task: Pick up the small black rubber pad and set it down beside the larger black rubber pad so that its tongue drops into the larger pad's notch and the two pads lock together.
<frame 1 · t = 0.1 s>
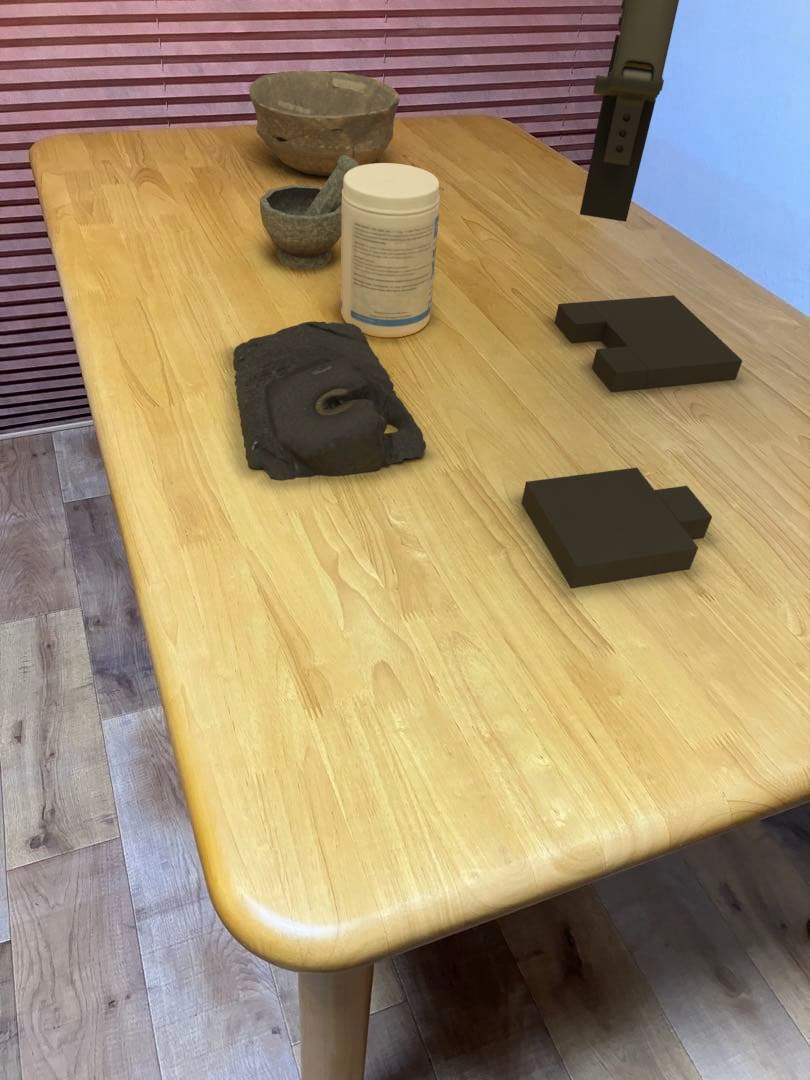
hand: (608, 177, 56), 26 cm above the table, tool pointing down, fingers open, 13 cm apart
base pad: (641, 352, 91), on the table
small pad: (602, 537, 69), on the table
bowl: (323, 167, 125), on the table
dark slate chunk: (321, 407, 80), on the table
supplement tub: (384, 320, 93), on the table
mortar and pestle: (310, 261, 102), on the table
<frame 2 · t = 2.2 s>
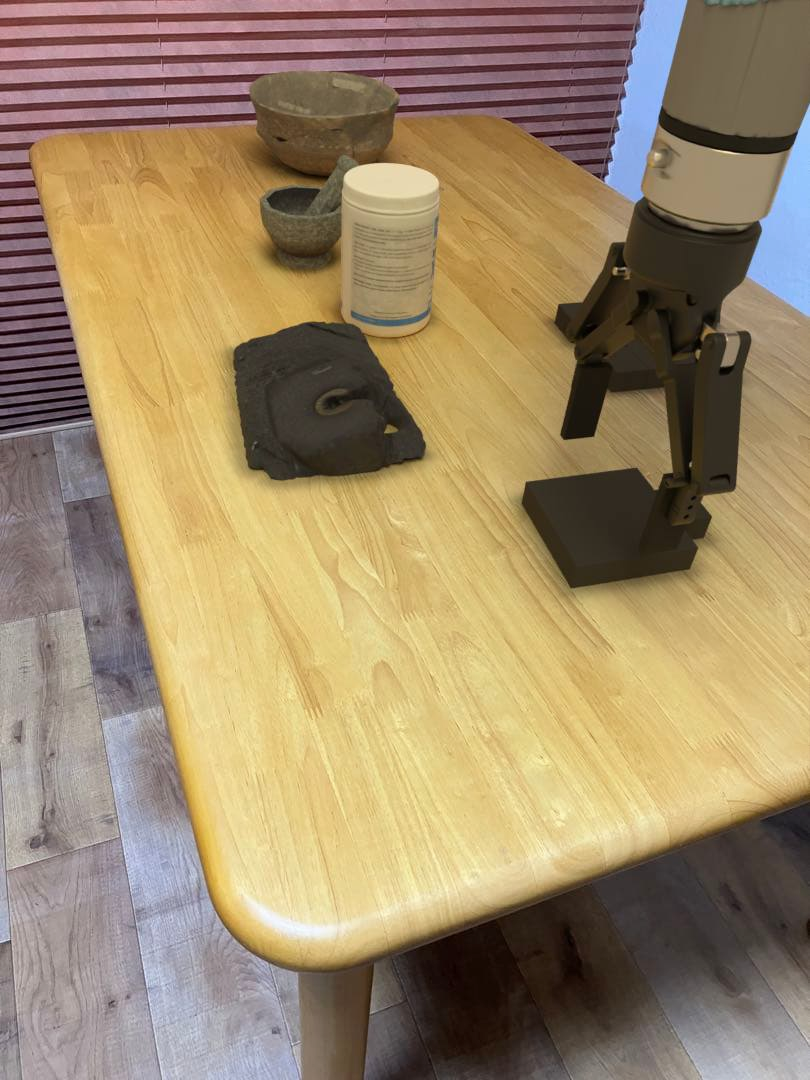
hand: (614, 488, 66), 5 cm above the table, tool pointing down, fingers open, 13 cm apart
nothing on the table moved.
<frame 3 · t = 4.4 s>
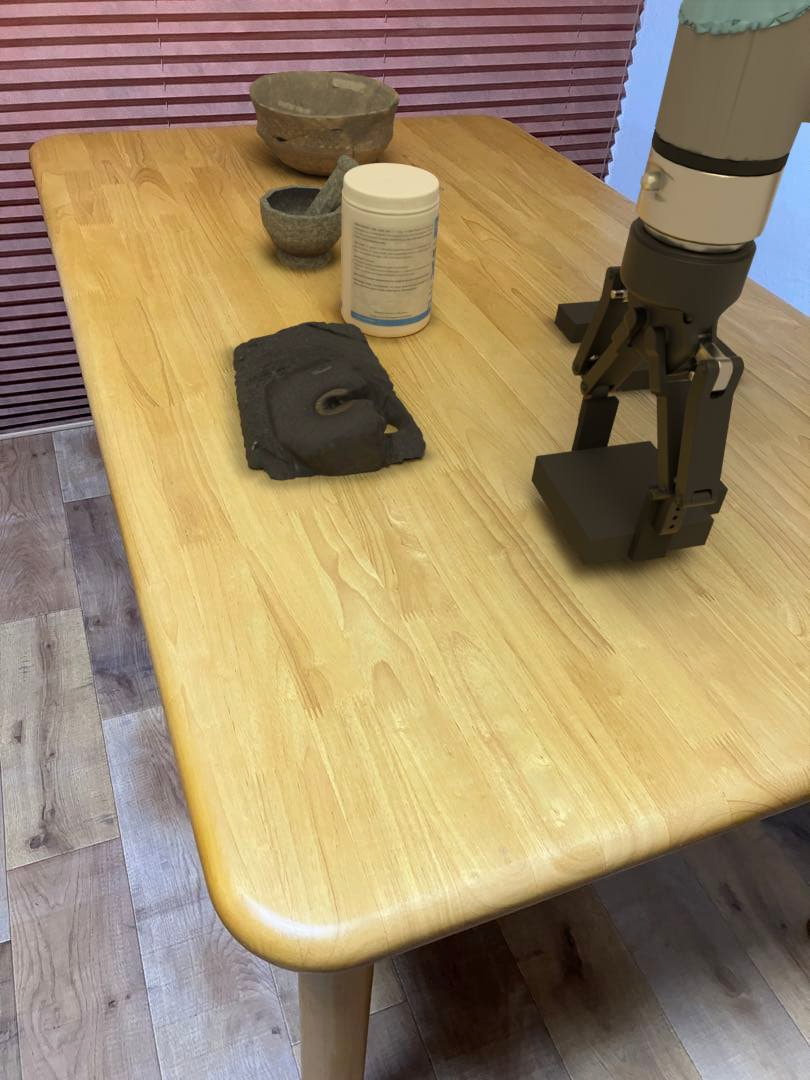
hand: (613, 509, 67), 3 cm above the table, tool pointing down, fingers closed on small pad, 10 cm apart
small pad: (615, 511, 67), point 3 cm above the table, touching gripper
everything else where it was.
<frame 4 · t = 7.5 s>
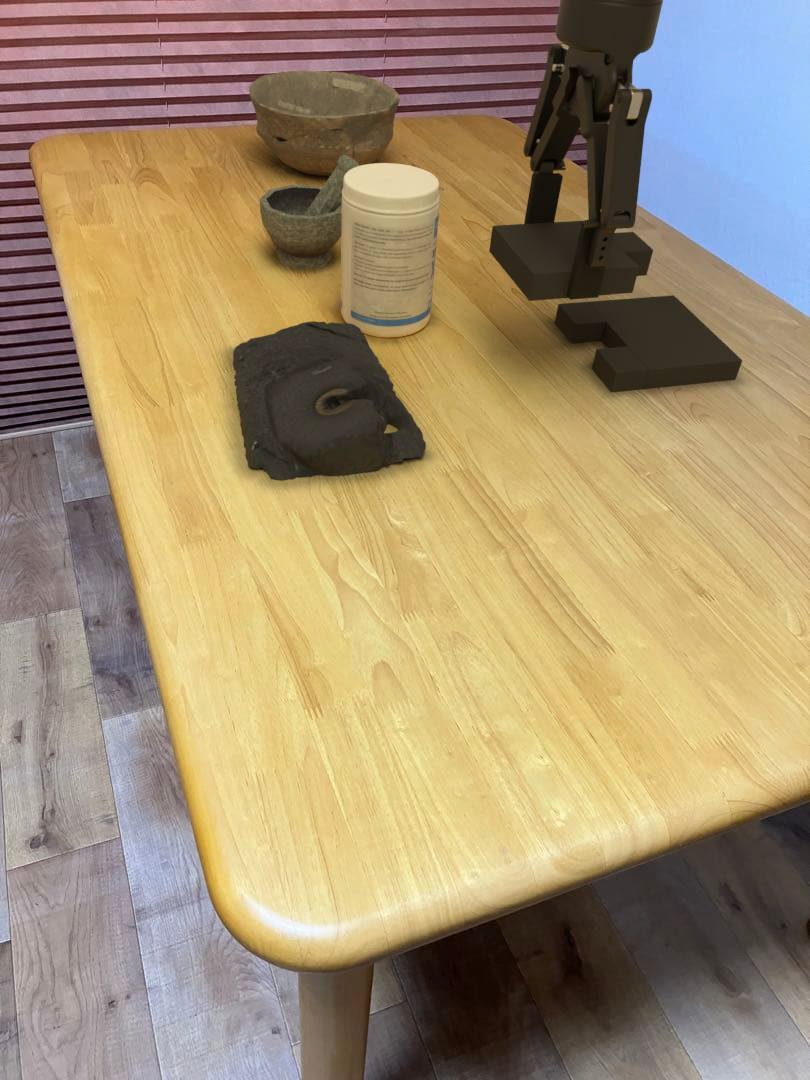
hand: (557, 269, 79), 11 cm above the table, tool pointing down, fingers closed on small pad, 10 cm apart
small pad: (558, 271, 80), point 11 cm above the table, touching gripper
everything else where it was.
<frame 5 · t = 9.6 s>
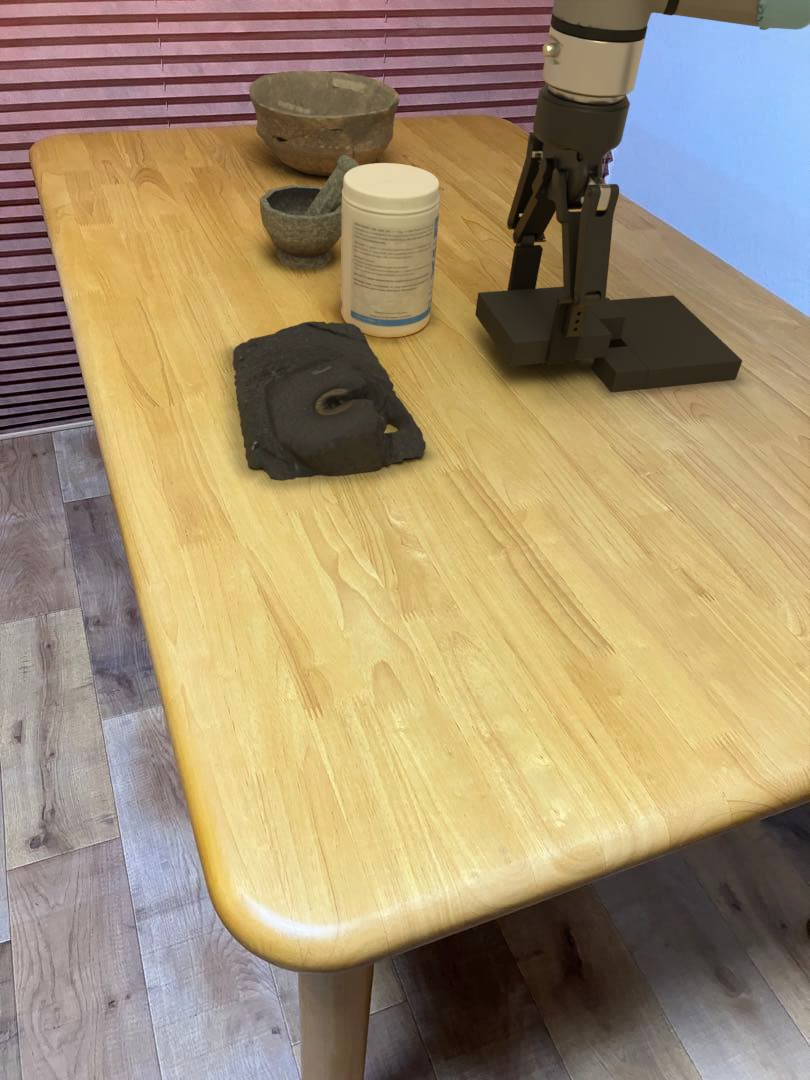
hand: (537, 333, 86), 3 cm above the table, tool pointing down, fingers closed on small pad, 10 cm apart
small pad: (538, 335, 86), point 3 cm above the table, touching gripper
everything else where it was.
when the fingers open (0 cm above the table, at t = 10.9 s): small pad stays where it is, on the table.
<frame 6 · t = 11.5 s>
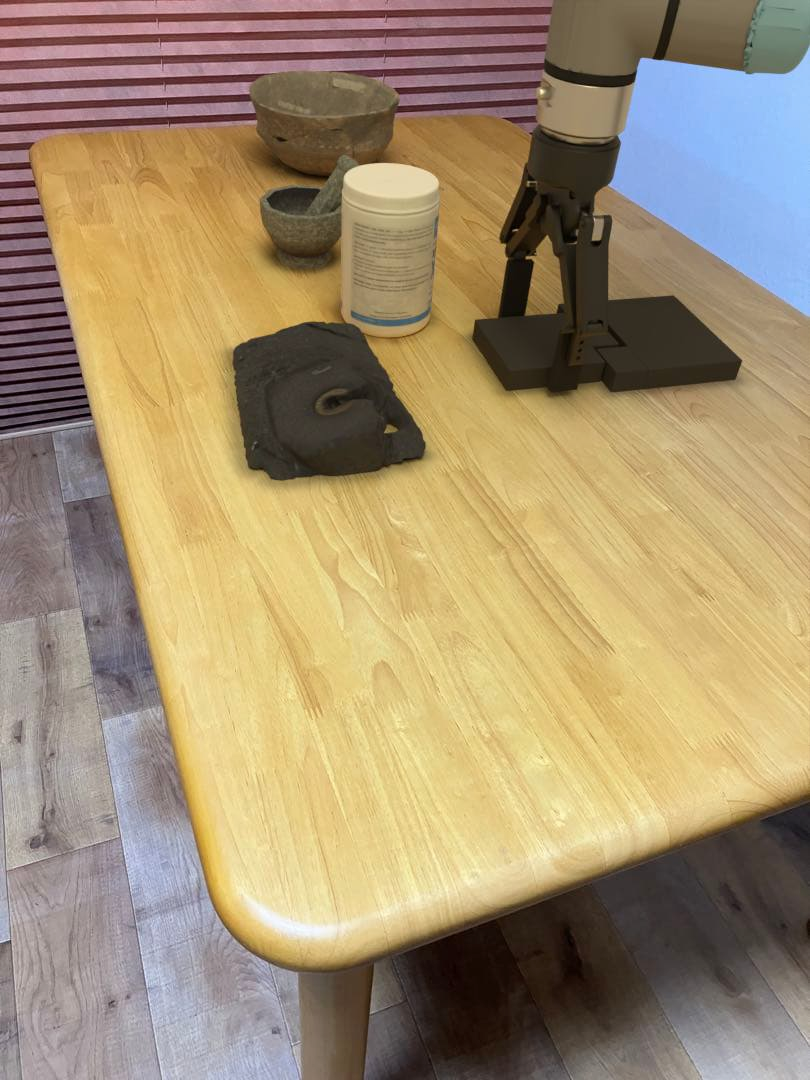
hand: (535, 352, 88), 1 cm above the table, tool pointing down, fingers open, 13 cm apart
small pad: (534, 362, 88), on the table
everything else where it was.
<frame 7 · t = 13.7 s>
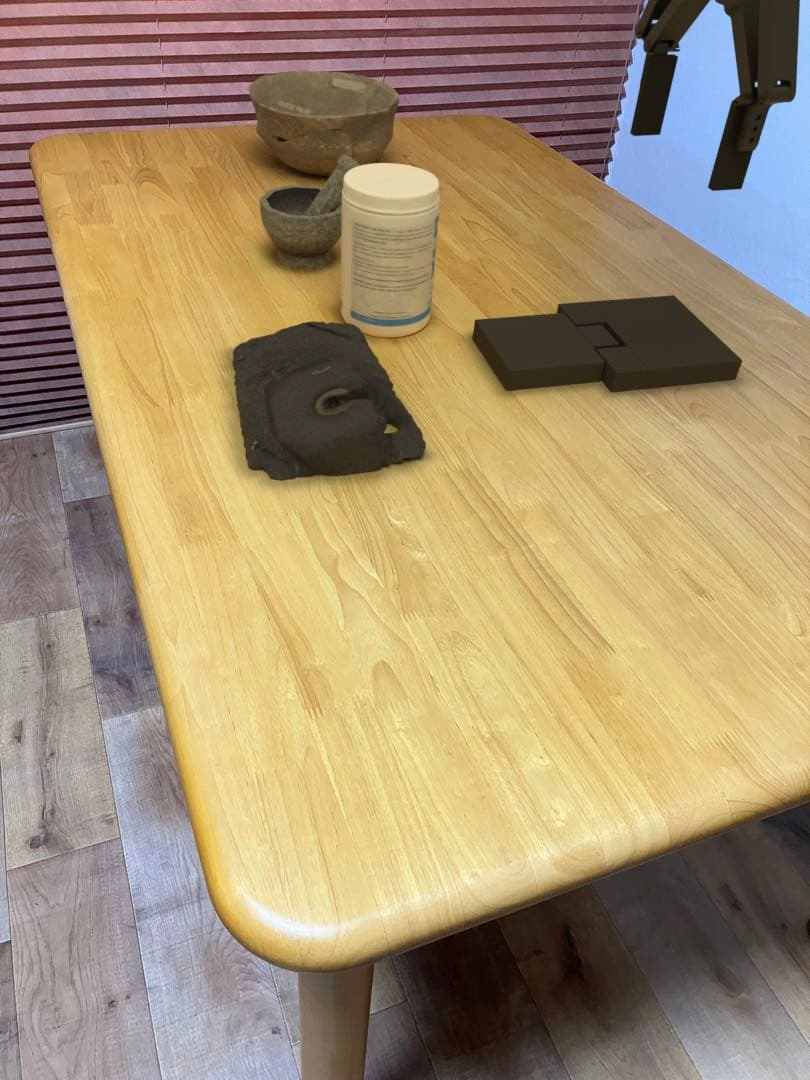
hand: (682, 160, 76), 20 cm above the table, tool pointing down, fingers open, 13 cm apart
nothing on the table moved.
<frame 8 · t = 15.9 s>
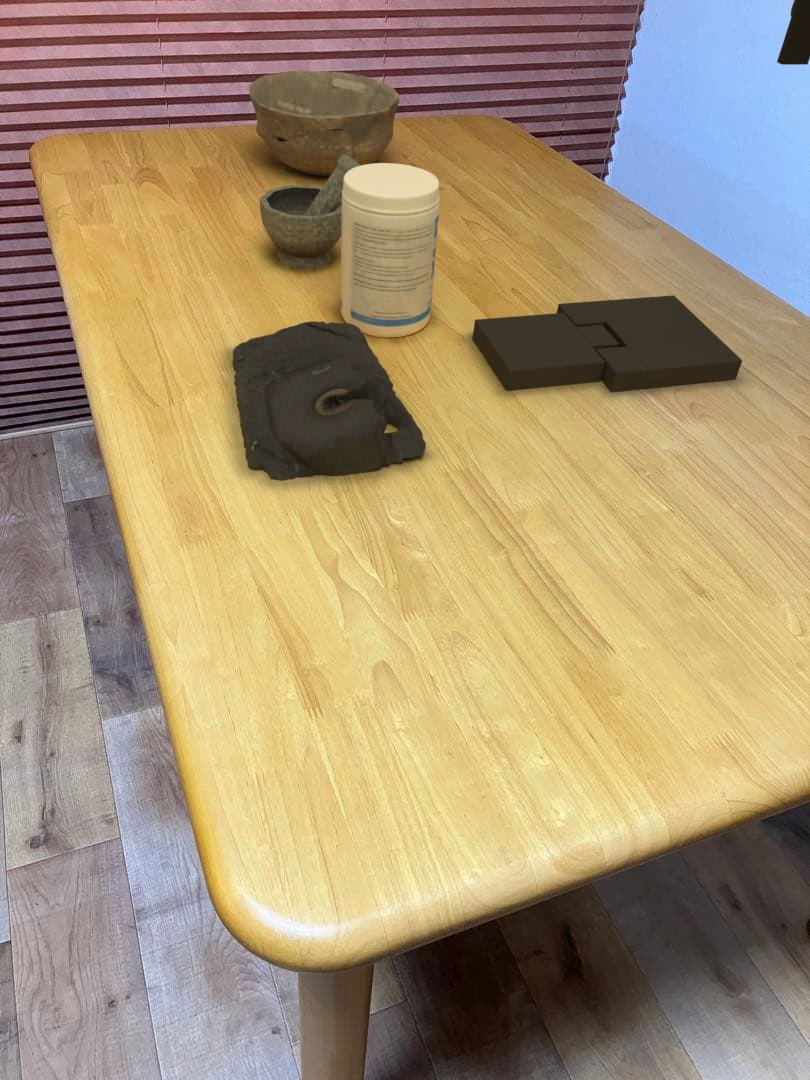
nothing on the table moved.
at the end: small pad 0.3 cm from the target spot on the table beside the base pad, on the table; small pad tilted 0°; the gripper is holding nothing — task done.
